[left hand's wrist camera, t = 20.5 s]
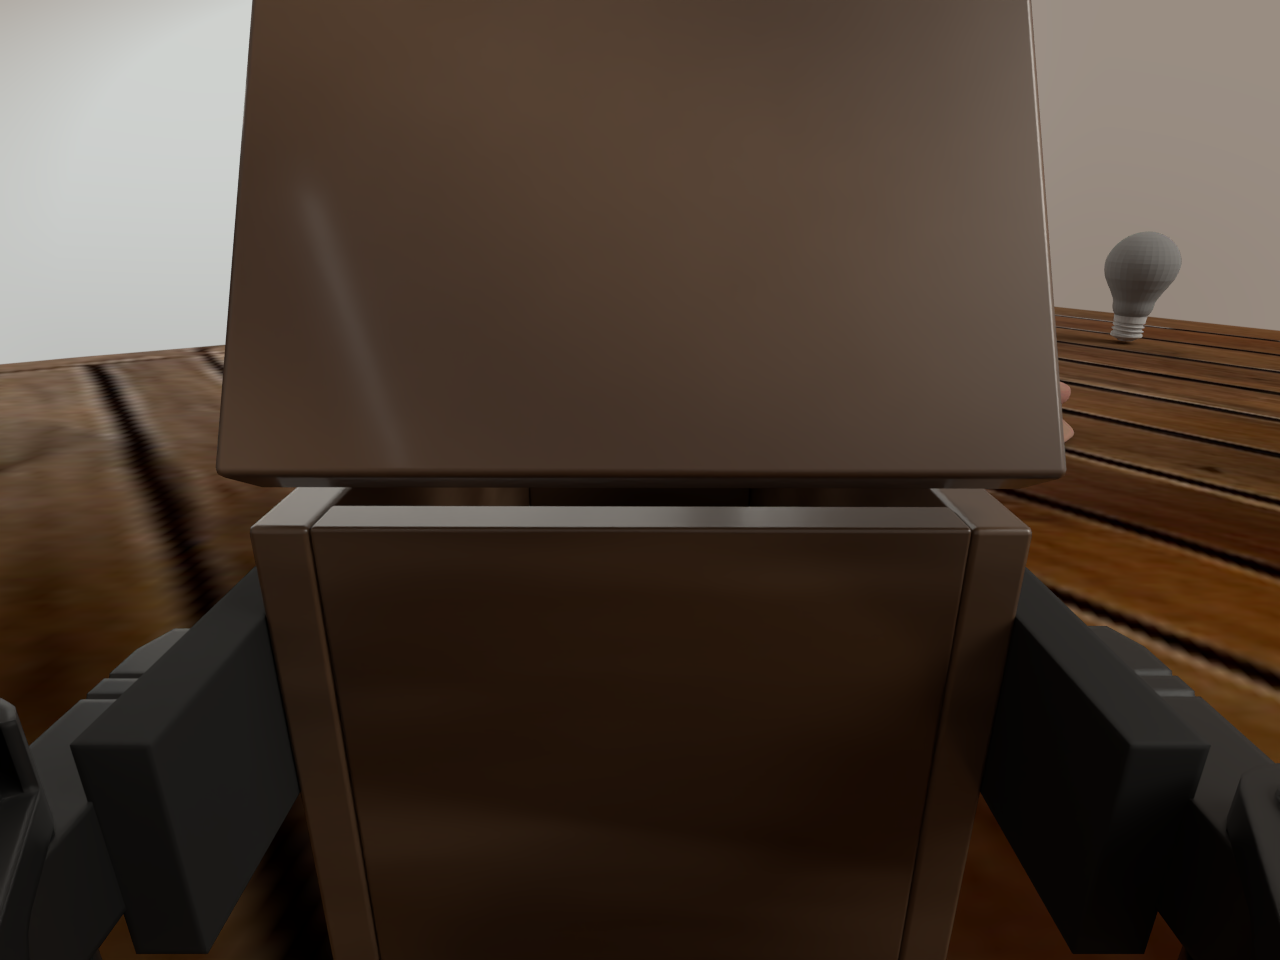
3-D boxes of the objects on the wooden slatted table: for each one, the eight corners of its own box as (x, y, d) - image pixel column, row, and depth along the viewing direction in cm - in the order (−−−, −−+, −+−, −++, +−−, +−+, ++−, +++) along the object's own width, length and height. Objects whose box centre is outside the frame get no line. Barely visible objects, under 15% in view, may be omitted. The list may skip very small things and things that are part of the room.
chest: (516, 572, 28) (500, 310, 25) (762, 573, 28) (779, 311, 25) (354, 1076, 12) (245, 527, 9) (924, 1077, 12) (1036, 529, 9)
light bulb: (1104, 345, 71) (1128, 232, 68) (1079, 334, 77) (1101, 230, 73) (1174, 347, 70) (1202, 233, 67) (1144, 336, 76) (1168, 230, 72)
